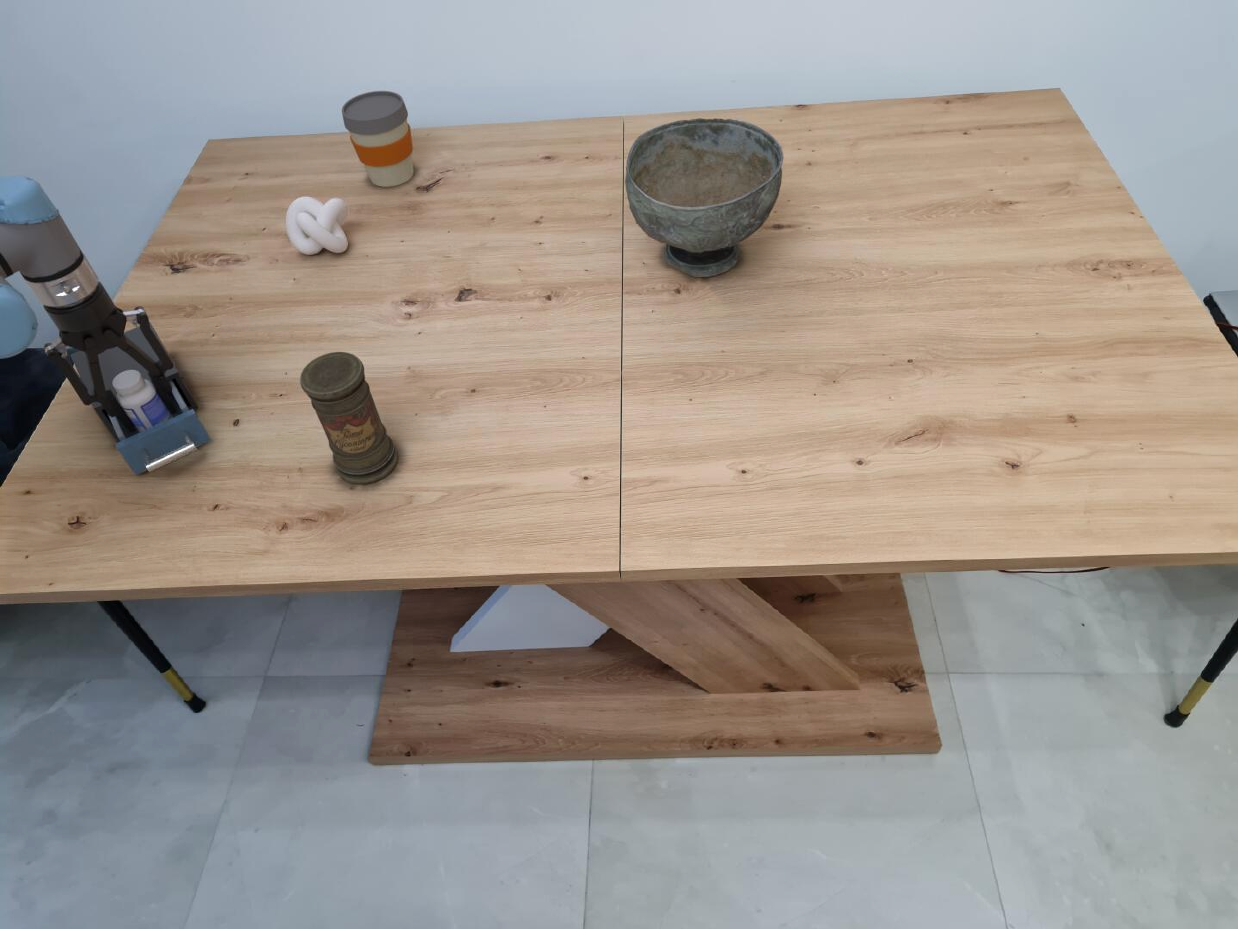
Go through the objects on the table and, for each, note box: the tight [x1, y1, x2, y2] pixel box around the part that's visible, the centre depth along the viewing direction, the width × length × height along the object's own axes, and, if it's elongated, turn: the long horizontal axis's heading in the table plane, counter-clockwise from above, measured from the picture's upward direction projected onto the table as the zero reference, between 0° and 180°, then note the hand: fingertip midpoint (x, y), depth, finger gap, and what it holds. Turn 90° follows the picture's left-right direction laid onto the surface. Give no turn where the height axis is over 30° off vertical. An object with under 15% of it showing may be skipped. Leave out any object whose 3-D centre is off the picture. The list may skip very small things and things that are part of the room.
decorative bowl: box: [624, 117, 784, 278], centre depth 153 cm, size 26×26×20 cm
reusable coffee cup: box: [341, 90, 414, 188], centre depth 181 cm, size 13×13×15 cm
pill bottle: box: [112, 370, 174, 433], centre depth 133 cm, size 5×5×10 cm
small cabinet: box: [70, 321, 199, 443], centre depth 142 cm, size 16×13×8 cm
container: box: [299, 351, 399, 486], centre depth 125 cm, size 9×9×18 cm
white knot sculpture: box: [285, 196, 349, 256], centre depth 167 cm, size 11×12×9 cm
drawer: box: [109, 380, 212, 476], centre depth 135 cm, size 19×11×6 cm, turn 35°
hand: (151, 417), depth 135 cm, fingers closed on pill bottle, 5 cm apart
